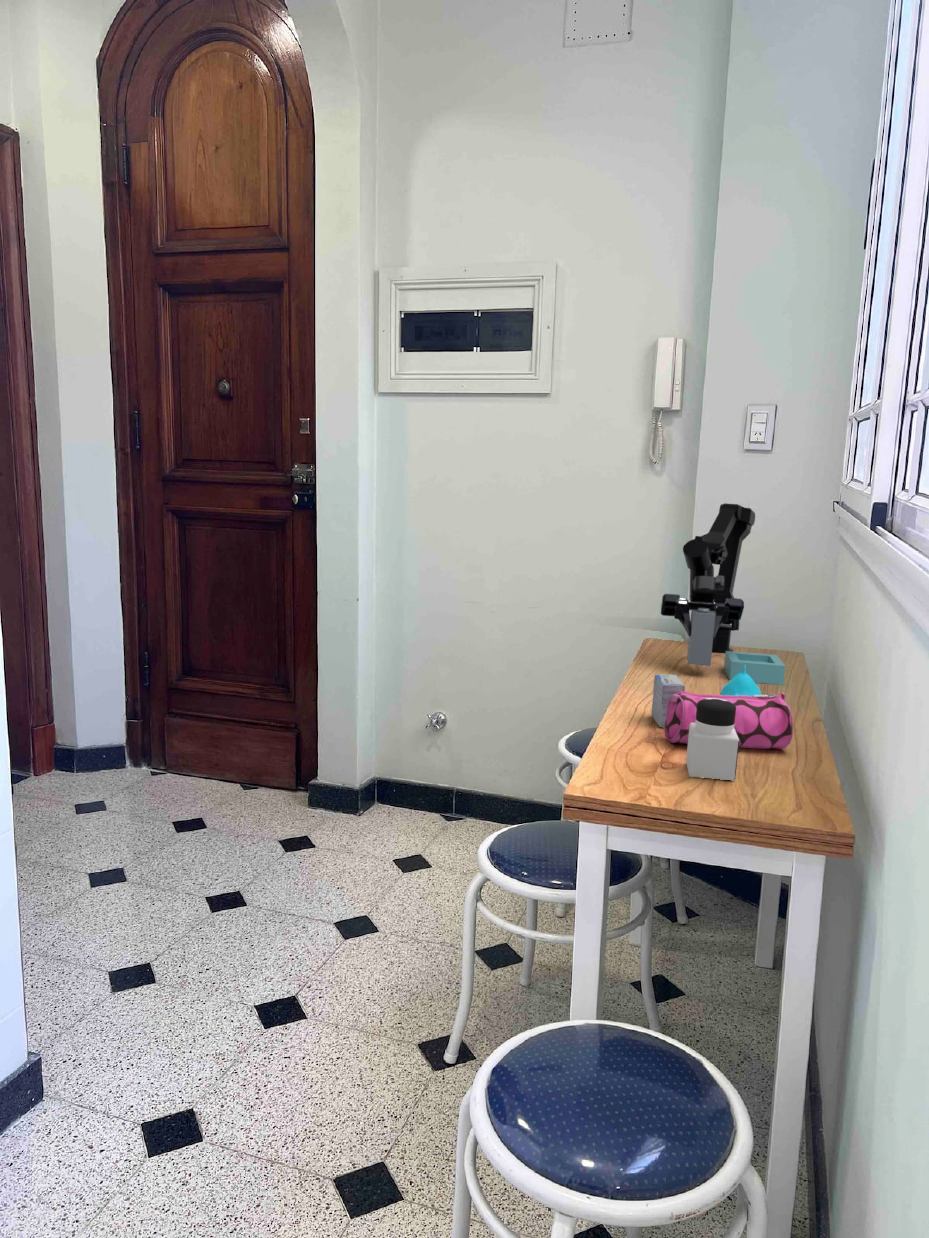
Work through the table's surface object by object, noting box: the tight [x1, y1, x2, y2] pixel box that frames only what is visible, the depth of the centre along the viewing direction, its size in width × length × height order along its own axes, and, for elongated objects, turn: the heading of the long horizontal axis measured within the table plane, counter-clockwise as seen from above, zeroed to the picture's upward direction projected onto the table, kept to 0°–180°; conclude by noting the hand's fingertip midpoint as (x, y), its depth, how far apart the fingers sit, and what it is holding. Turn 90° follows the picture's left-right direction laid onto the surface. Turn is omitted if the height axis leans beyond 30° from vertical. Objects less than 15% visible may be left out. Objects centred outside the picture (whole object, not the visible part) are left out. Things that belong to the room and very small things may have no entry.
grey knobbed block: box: [686, 608, 715, 667], centre depth 207 cm, size 5×5×13 cm
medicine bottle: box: [685, 698, 740, 782], centre depth 142 cm, size 7×7×12 cm
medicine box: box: [651, 673, 686, 729], centre depth 169 cm, size 8×4×9 cm, turn 179°
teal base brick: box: [723, 650, 786, 686], centre depth 210 cm, size 12×12×4 cm
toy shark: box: [719, 665, 763, 696], centre depth 175 cm, size 10×18×11 cm, turn 172°
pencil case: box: [663, 690, 794, 750], centre depth 157 cm, size 21×10×10 cm, turn 93°
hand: (701, 636), depth 206 cm, fingers closed on grey knobbed block, 5 cm apart
